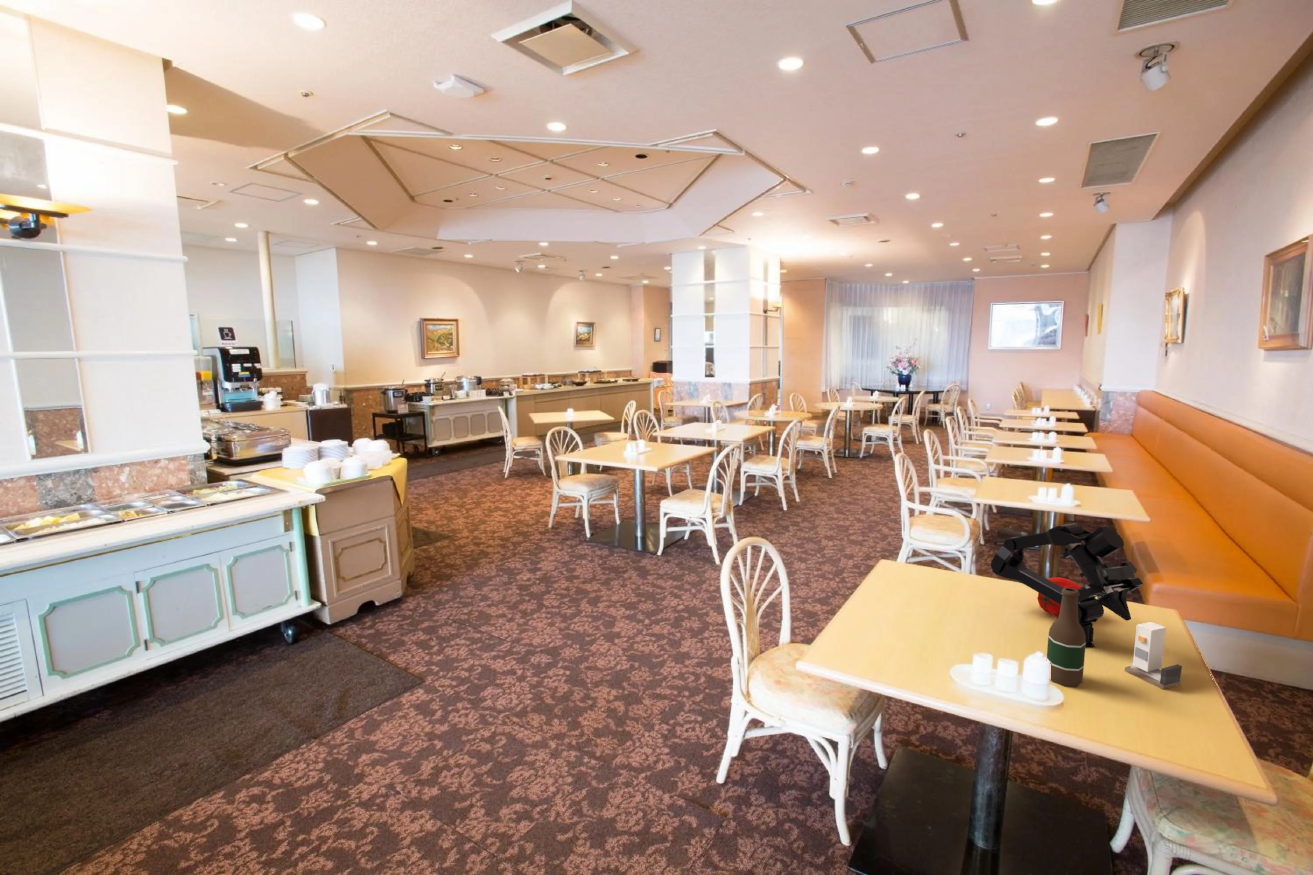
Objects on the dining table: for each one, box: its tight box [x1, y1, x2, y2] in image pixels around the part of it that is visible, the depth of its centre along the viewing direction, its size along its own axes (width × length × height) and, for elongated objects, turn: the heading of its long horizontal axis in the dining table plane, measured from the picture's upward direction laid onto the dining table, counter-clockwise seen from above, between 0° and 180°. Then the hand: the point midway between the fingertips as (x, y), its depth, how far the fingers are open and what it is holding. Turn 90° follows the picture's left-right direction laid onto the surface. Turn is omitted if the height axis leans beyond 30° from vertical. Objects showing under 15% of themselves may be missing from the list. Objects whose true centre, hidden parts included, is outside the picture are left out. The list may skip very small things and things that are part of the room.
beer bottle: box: [1046, 588, 1086, 688], centre depth 152 cm, size 8×8×24 cm
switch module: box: [1132, 621, 1167, 672], centre depth 153 cm, size 4×6×11 cm, turn 107°
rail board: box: [1124, 662, 1182, 690], centre depth 153 cm, size 9×6×5 cm, turn 17°
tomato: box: [1037, 576, 1082, 618], centre depth 189 cm, size 13×13×13 cm
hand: (1128, 619), depth 158 cm, fingers closed
